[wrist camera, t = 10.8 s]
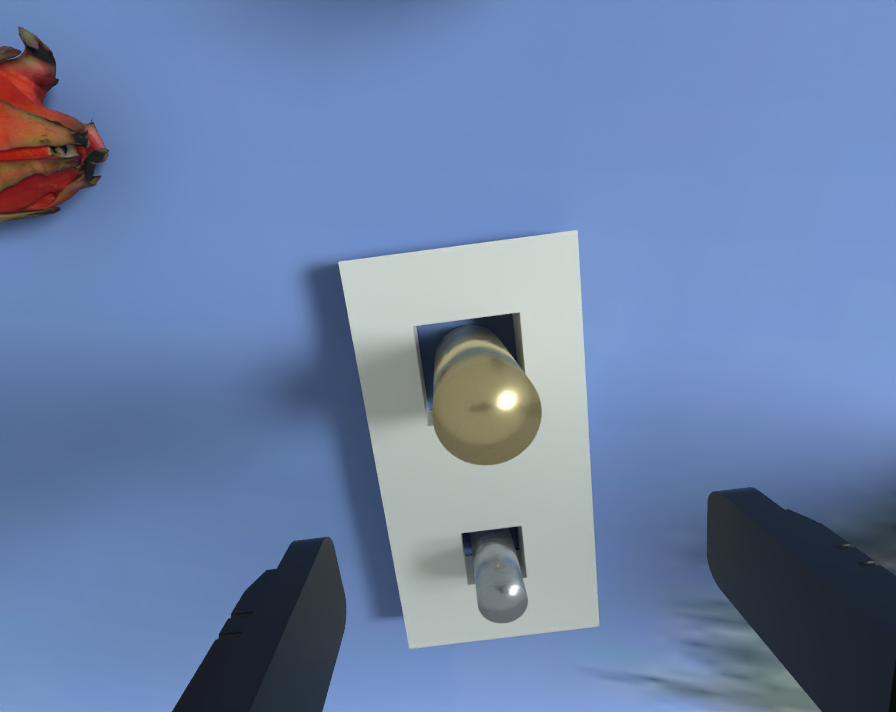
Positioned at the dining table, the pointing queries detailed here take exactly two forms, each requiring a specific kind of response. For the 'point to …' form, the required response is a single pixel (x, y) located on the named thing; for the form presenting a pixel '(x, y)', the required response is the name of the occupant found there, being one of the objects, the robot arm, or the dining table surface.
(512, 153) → the dining table surface
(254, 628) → the robot arm
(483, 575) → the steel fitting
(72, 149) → the dragon fruit
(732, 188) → the dining table surface
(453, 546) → the plate
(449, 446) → the cylinder
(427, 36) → the dining table surface
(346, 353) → the dining table surface
